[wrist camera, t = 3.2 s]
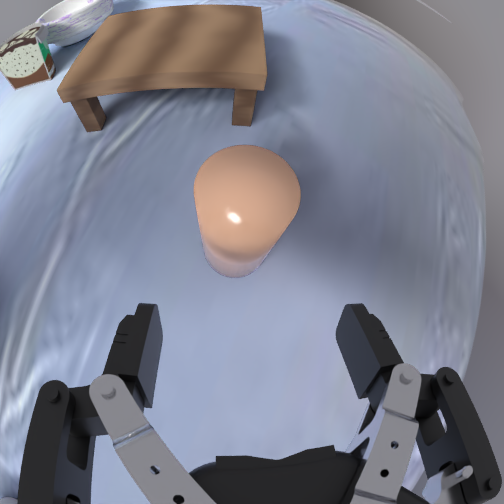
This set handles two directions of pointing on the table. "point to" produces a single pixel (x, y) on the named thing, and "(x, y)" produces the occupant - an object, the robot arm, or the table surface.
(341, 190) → the table surface
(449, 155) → the table surface
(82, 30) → the paper bowls
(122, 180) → the table surface
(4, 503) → the lumpy-topped squat cylinder
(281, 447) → the table surface
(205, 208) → the peach rounded cylinder
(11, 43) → the food container
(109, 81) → the footstool
